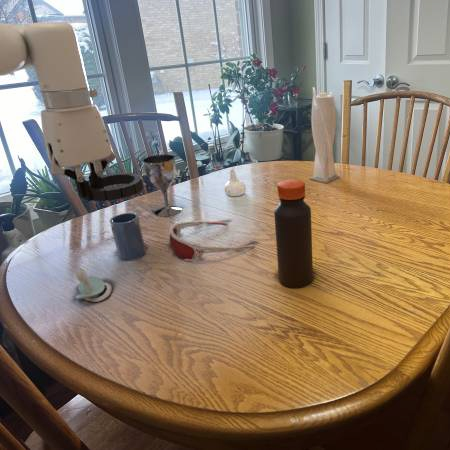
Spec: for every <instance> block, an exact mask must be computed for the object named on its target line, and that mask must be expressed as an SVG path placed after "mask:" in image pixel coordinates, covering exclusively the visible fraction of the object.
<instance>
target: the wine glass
mask: <svg viewBox="0 0 450 450" xmlns="http://www.w3.org/2000/svg"><path fill="white" fill-rule="evenodd" d="M142 163H143V168H144V172H145V174H146V177H147V179H148V181H149V182H150V183H151V184H152V185H153V186H154V187H156V188H157V189H158V190H160V192H161V193H162V197H163V199H164V205H165V206H164V207H162V208H161V207H160V208H159V209H156V210H155V212H154V215H155V216H156V217H162V218H163V217H164V218H165V217H172V216H176V215H178V214H180V213H181V212H182V208H181V207H179V206H175V205H170V204H169V199H168V198H169V197H168V191H169V188H170V186H171V185H172V183H173V182H174V181H175V178H176V174H177V172H176V171H177V169H176V168H177V167H176V160H175V156H174V155H172V154H155V155H150V156H147V157H145V158H143V160H142Z"/></svg>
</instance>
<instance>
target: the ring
mask: <svg viewBox="0 0 450 450" xmlns="http://www.w3.org/2000/svg"><path fill="white" fill-rule="evenodd" d="M101 178H102V182H103V186H104V189H99V188H94V187H92V186H91V185H90V181H89V180H87V181H88V182H89V186H90V190H91V194H92V198H93V200H92V201H94V202H95V201H96V202H109V201H116V200H122V199H126V198H129V197H133V196H135V195H137V194H139V193H140V192H141V191H143V190H144V188H145V187H144V181H143V177H142V175H141V174H138V173H135V172H114V173H108V174H103V176H101ZM115 185H120V186H116V187H110V186H115ZM107 187H109V188H107Z"/></svg>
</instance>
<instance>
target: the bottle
mask: <svg viewBox="0 0 450 450" xmlns="http://www.w3.org/2000/svg"><path fill="white" fill-rule="evenodd" d="M277 197H278V200H279V203H278V204H277V205H276V207H275V208H274V210H273V211H274V212H273V215H274V230H275V231H274V232H275V243H276V258H277V272H278V282H280V284H281V285H283V286H284V287H287V288H291V289H296V288H297V289H298V288H302V287H306V286H308V285H309V284H311V282H312V281H313V279H314V266H313V265H314V264H313V263H314V262H313V233H312V231H313V230H312V209H311V207H310V205H309V204H308V203H306V202H305V198H306V183H305V182H304V181H303V180H300V179H294V178H293V179H285V180H281V181H279V182H278V183H277Z"/></svg>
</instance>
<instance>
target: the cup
mask: <svg viewBox="0 0 450 450" xmlns="http://www.w3.org/2000/svg"><path fill="white" fill-rule="evenodd" d="M109 222H110V223H109V224H110V228H111V232H112V236H113V241H114V244H115V248H116V253H117V257H118V259H119V260H120V261H125V262H128V261H129V262H130V261H135V260H138V259H140V258H142V257H144V256H145V255H146V253H147V252H146V245H145V241H144V236H143V232H142V231H143V230H142V226H141V223H140V217H139V215H138V213H135V212H123V213H120V214H116V215H114V216H112V217H111V218H110V219H109Z"/></svg>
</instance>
